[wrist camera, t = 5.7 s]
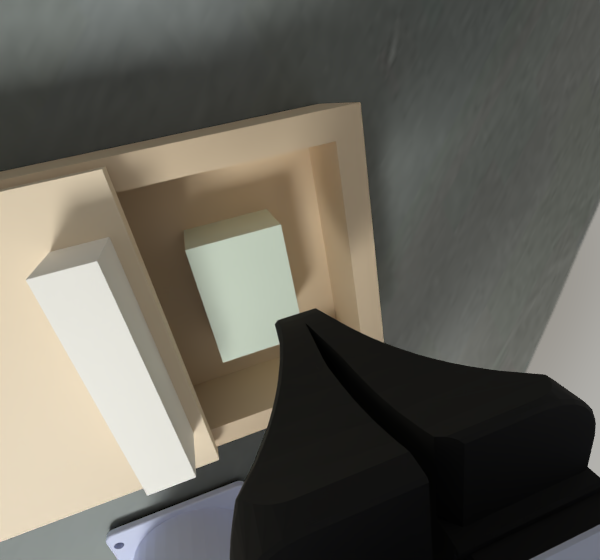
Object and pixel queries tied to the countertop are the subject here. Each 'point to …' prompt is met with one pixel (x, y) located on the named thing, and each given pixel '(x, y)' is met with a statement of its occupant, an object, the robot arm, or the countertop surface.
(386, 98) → the countertop surface
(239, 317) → the soap bar
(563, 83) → the countertop surface
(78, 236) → the mailer lid
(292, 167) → the tray
